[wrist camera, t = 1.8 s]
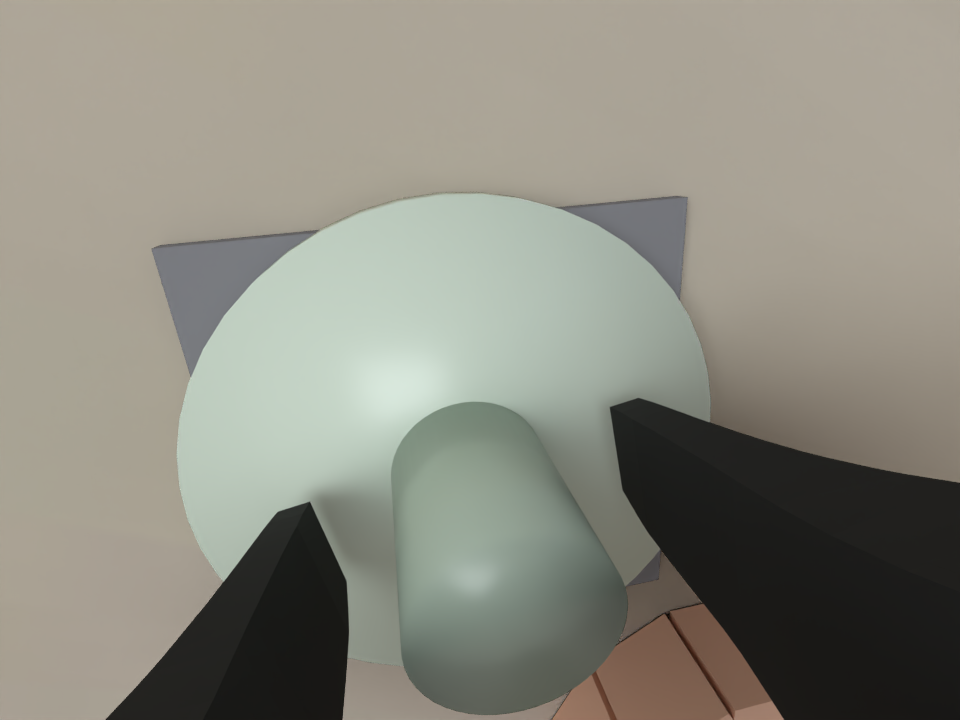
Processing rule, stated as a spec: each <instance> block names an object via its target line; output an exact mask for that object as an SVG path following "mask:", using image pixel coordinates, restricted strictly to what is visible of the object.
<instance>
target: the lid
mask: <svg viewBox="0 0 960 720" xmlns="http://www.w3.org/2000/svg"><path fill="white" fill-rule="evenodd" d="M636 398H641V399H644V400H648V401H651V402H654V403H657V404H660V405H662V406H665V407H668V408H671V409H674V410H676V411H679V412H682V413H685V414H687V415H690V416H693V417H696V418H698V419H701V420H704V421H707V422H710V409H711V399H710V388H709V378H708V371H707V367H706V363H705V359H704V355H703V351H702V347H701V344H700V341H699V339H698V336H697V334H696V332H695V329H694V327H693V324H692V322H691V320H690V317H689V315H688V314H687V312H686V310H685V309H684V307H683V306H682V304H681V302H680V301H679V299H678V297H677V296H676V294H675V292H674V291H673V289H672V288H671V287H670V286H669V285H668V284H667V282H666V281H665V280H664V279H663V278H662V276H661V275H660V274H659V273H658V272H657V271H656V269H655V268H654V267H653V266H652V265H651V264H650V263H649V262H648V261H646V260H645V259H644V258H643V257H642V256H641V255H640V254H638V253H637V252H636V251H635V250H634V249H633V248H631V247H630V246H629V245H628V244H627V243H625V242H624V241H622V240H620V239H619V238H617V237H616V236H614V235H613V234H611V233H609V232H608V231H606V230H605V229H603V228H601V227H600V226H598V225H597V224H594V223H592V222H590V221H587V220H585V219H583V218H581V217H578V216H576V215H574V214H571V213H569V212H567V211H564V210H562V209H558V208H554V207H551V206H547V205H543V204H540V203H536V202H532V201H529V200H525V199H521V198H517V197H512V196H504V195H496V194H488V193H480V192H455V193H433V194H427V195H421V196H414V197H408V198H402V199H397V200H394V201H390V202H387V203H384V204H380V205H377V206H374V207H370V208H367V209H364V210H361V211H358V212H356V213H354V214H352V215H350V216H347V217H345V218H343V219H341V220H339V221H337V222H334V223H332V224H330V225H328V226H326V227H324V228H322V229H321V230H319V231H317V232H316V233H314V234H313V235H311V236H310V237H308V238H307V239H305V240H304V241H302V242H300V243H299V244H297V245H296V246H294V247H293V248H291V249H290V250H289V251H287V252H286V253H285V254H284V255H283V256H282V257H280V258H279V259H278V260H277V261H276V262H275V263H274V264H272V265H271V266H270V267H269V268H268V269H267V270H265V271H264V272H263V273H262V274H261V275H260V276H259V277H258V278H257V279H256V280H255V281H254V282H253V283H252V284H251V285H250V286H249V287H248V288H247V290H246V291H245V292H244V293H243V294H242V295H241V297H240V298H239V299H238V300H237V301H236V302H235V304H234V305H233V306H232V307H231V308H230V309H229V310H228V312H227V313H226V314H225V315H224V317H223V318H222V320H221V321H220V323H219V325H218V326H217V328H216V329H215V331H214V333H213V334H212V336H211V337H210V339H209V341H208V342H207V344H206V345H205V347H204V349H203V351H202V353H201V355H200V358H199V360H198V362H197V365H196V367H195V369H194V372H193V374H192V376H191V379H190V381H189V383H188V387H187V391H186V395H185V399H184V403H183V407H182V411H181V415H180V419H179V431H178V444H177V464H178V476H179V487H180V491H181V495H182V499H183V503H184V507H185V511H186V515H187V519H188V521H189V523H190V526H191V528H192V530H193V533H194V535H195V537H196V539H197V542H198V544H199V546H200V548H201V550H202V552H203V553H204V555H205V556H206V558H207V559H208V561H209V562H210V564H211V566H212V567H213V569H214V570H215V572H216V573H217V575H218V576H219V577H220V578H221V579H222V580H223V582H224V581H225V579H226V578H227V577H228V575H229V574H230V573H231V572H232V570H233V569H234V568H235V566H236V565H237V564H238V562H239V561H240V560H241V558H242V557H243V556H244V554H245V553H246V552H247V550H248V549H249V548H250V546H251V545H252V544H253V542H254V541H255V540H256V538H257V537H258V536H259V534H260V533H261V532H262V530H263V529H264V528H265V527H266V525H267V524H268V523H269V521H270V520H271V519H272V518H273V517H274V515H275V514H276V513H277V512H278V511H281V510H284V509H288V508H291V507H294V506H297V505H300V504H304V503H307V502H310V503H311V505H312V507H313V509H314V511H315V513H316V516H317V518H318V520H319V522H320V524H321V526H322V529H323V531H324V533H325V535H326V537H327V539H328V542H329V544H330V546H331V548H332V550H333V553H334V555H335V557H336V559H337V561H338V563H339V566H340V568H341V570H342V572H343V574H344V576H345V579H346V581H347V594H348V613H349V644H348V657H347V658H352V659H356V660H361V661H365V662H370V663H378V664H387V665H396V666H404V668H405V671H406V673H407V675H408V677H409V679H410V680H411V681H412V683H413V684H414V685H415V687H416V688H417V689H418V690H419V691H420V692H421V693H422V694H423V695H424V696H426V697H427V698H429V699H430V700H432V701H433V702H435V703H437V704H439V705H441V706H443V707H446V708H449V709H452V710H455V711H458V712H463V713H468V714H478V715H498V714H507V713H513V712H518V711H523V710H527V709H530V708H533V707H537V706H539V705H542V704H545V703H547V702H550V701H552V700H554V699H556V698H558V697H560V696H562V695H564V694H565V693H567V692H569V691H570V690H572V689H574V688H575V687H577V686H578V685H579V684H581V683H582V682H583V681H585V680H586V679H587V678H588V677H589V676H591V675H592V674H593V673H594V672H595V671H596V670H597V669H598V668H599V667H600V666H601V665H602V664H603V663H604V662H605V660H606V659H607V658H608V656H609V655H610V654H611V652H612V651H613V649H614V648H615V646H616V644H617V642H618V641H619V638H620V636H621V634H622V632H623V629H624V625H625V622H626V618H627V610H628V600H627V593H626V588H625V586H627V585H628V584H629V583H630V582H631V581H632V580H633V579H634V578H635V577H636V576H637V575H638V574H639V573H640V572H641V571H642V570H643V569H644V568H645V566H646V565H647V564H648V563H649V562H650V561H651V560H652V559H653V558H654V557H655V555H656V554H657V553H658V551H659V550H660V548H659V547H658V545H657V544H656V543H655V541H654V540H653V539H652V537H651V536H650V535H649V533H648V532H647V530H646V529H645V527H644V526H643V524H642V522H641V521H640V519H639V517H638V516H637V514H636V513H635V511H634V509H633V507H632V506H631V504H630V502H629V500H628V499H627V497H626V495H625V494H624V492H623V490H622V484H621V478H620V471H619V465H618V458H617V452H616V445H615V439H614V432H613V426H612V419H611V413H610V407H611V406H614V405H617V404H621V403H624V402H627V401H630V400H633V399H636Z"/></svg>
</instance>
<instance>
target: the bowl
mask: <svg viewBox="0 0 960 720" xmlns="http://www.w3.org/2000/svg"><path fill="white" fill-rule="evenodd" d="M552 720H784V719H783V717H782V716H781V714H780V713H779V711H778V709H777V708H776V706H775V705H774V703H773V702H772V700H771V699H770V697H769V696H768V694H767V693H766V691H765V689H764V688H763V686H762V685H761V683H760V682H759V680H758V679H757V677H756V676H755V674H754V673H753V671H752V669H751V668H750V666H749V665H748V663H747V662H746V660H745V659H744V657H743V656H742V654H741V653H740V651H739V650H738V649H737V647H736V646H735V644H734V643H733V642H732V640H731V639H730V638H729V636H728V635H727V633H726V632H725V631H724V629H723V628H722V627H721V625H720V624H719V623H718V622H717V620H716V619H715V618H714V617H713V615H712V614H711V613H710V612H709V610H708V609H707V608H706V606H705V605H704V604H700V605H696V606H691V607H687V608H683V609H678V610H674V611H670V617H669V619H668V618H667V616H666V615H665V614H663V615H662V616H660V617H659V618H657V619H656V620H654V621H653V622H651V623H650V624H648V625H647V626H645V627H644V628H642V629H641V630H639V631H638V632H636V633H635V634H633V635H632V636H630V637H629V638H627V639H626V640H624V641H623V642H621V643H620V644H618V645H617V646H615V648H614V649H613V651H612V652H611V654H610V655H609V656H608V658H607V659H606V660H605V662H604V663H603V664H602V665H601V666H600V667H599V668H598V669H597V670H596V671H595V672H594V673H593V674H592V675H591V676H589V677H588V678H587V679H586V680H585V681H583V682H582V683H581V684H579V685H578V686H577V687H575V688H574V689H572V690H571V692H570V693H569V695H568V696H567V698H566V699H565V701H564V702H563V704H562V705H561V707H560V708H559V710H558V711H557V713H556V714H555V716H554V717H553V719H552Z"/></svg>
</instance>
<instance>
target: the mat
mask: <svg viewBox="0 0 960 720" xmlns="http://www.w3.org/2000/svg"><path fill="white" fill-rule="evenodd" d="M687 198H688V197H680V196H672V197H662V198H651V199H641V200H630V201H620V202H609V203H599V204H588V205H578V206H567V207H557V208H558V209H562V210H564V211H567V212H569V213H571V214H574V215H576V216H578V217H581V218H583V219H585V220H587V221H590V222H592V223H594V224H597V225H598V226H600V227H601V228H603V229H605V230H606V231H608V232H609V233H611V234H613V235H614V236H616V237H617V238H619V239H620V240H622V241H624V242H625V243H627V244H628V245H629V246H630V247H631V248H633V249H634V250H635V251H636V252H637V253H638V254H640V255H641V256H642V257H643V258H644V259H645V260H646V261H648V262H649V263H650V264H651V265H652V266H653V267H654V268H655V269H656V271H657V272H658V273H659V274H660V275H661V276H662V278H663V279H664V280H665V281H666V282H667V284H668V285H669V286H670V287H671V288H672V289H673V291H674V292H675V294H676V296H677V297H678V299H679V301H680V290H681V277H682V264H683V251H684V237H685V224H686V211H687ZM317 231H319V230H315V231H305V232H294V233H284V234H273V235H263V236H252V237H242V238H231V239H221V240H210V241H200V242H189V243H179V244H168V245H160V246H157V247H155V248H152V252H153V256H154V259H155V262H156V265H157V269H158V272H159V275H160V278H161V282H162V285H163V288H164V291H165V295H166V298H167V301H168V304H169V308H170V311H171V314H172V317H173V321H174V324H175V327H176V330H177V334H178V337H179V340H180V344H181V347H182V350H183V353H184V357H185V360H186V363H187V366H188V370H189V373H190V376H192V374H193V372H194V369H195V367H196V365H197V362H198V360H199V358H200V355H201V353H202V351H203V349H204V347H205V345H206V344H207V342H208V341H209V339H210V337H211V336H212V334H213V333H214V331H215V329H216V328H217V326H218V325H219V323H220V321H221V320H222V318H223V317H224V315H225V314H226V313H227V312H228V310H229V309H230V308H231V307H232V306H233V305H234V304H235V302H236V301H237V300H238V299H239V298H240V297H241V295H242V294H243V293H244V292H245V291H246V290H247V288H248V287H249V286H250V285H251V284H252V283H253V282H254V281H255V280H256V279H257V278H258V277H259V276H260V275H261V274H262V273H263V272H264V271H265V270H267V269H268V268H269V267H270V266H271V265H272V264H274V263H275V262H276V261H277V260H278V259H279V258H280V257H282V256H283V255H284V254H285V253H286V252H287V251H289V250H290V249H291V248H293V247H294V246H296V245H297V244H299V243H300V242H302V241H304V240H305V239H307V238H308V237H310V236H311V235H313V234H314V233H316V232H317ZM660 553H661V549H660V550H659V551H658V553H657V554H656V555H655V557H654V558H653V559H652V560H651V561H650V562H649V563H648V564H647V565H646V566H645V568H644V569H643V570H642V571H641V572H640V573H639V574H638V575H637V576H636V577H635V578H634V579H633V580H632V581H631V582H630V583H629V584H628V585H627V586H630V585H635V584H640V583H644V582H649V581H653V580H658V579H659V566H660ZM625 587H626V586H625Z"/></svg>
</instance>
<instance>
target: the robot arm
mask: <svg viewBox="0 0 960 720" xmlns="http://www.w3.org/2000/svg"><path fill="white" fill-rule="evenodd" d="M610 413H611V419H612V426H613V432H614V439H615V445H616V452H617V458H618V465H619V471H620V478H621V484H622V490H623V492H624V494H625V495H626V497H627V499H628V500H629V502H630V504H631V506H632V507H633V509H634V511H635V513H636V514H637V516H638V517H639V519H640V521H641V522H642V524H643V526H644V527H645V529H646V530H647V532H648V533H649V535H650V536H651V537H652V539H653V540H654V541H655V543H656V544H657V545H658V547H659V548H660V549H661V550H662V552H663V553H664V554H665V556H666V557H667V558H668V559H669V561H670V562H671V563H672V565H673V566H674V567H675V568H676V570H677V571H678V572H679V573H680V575H681V576H682V577H683V579H684V580H685V581H686V582H687V584H688V585H689V586H690V587H691V589H692V590H693V591H694V592H695V594H696V595H697V596H698V598H699V599H700V600H701V601H702V603H703V604H704V605H705V606H706V608H707V609H708V610H709V612H710V613H711V614H712V615H713V617H714V618H715V619H716V620H717V622H718V623H719V624H720V625H721V627H722V628H723V629H724V631H725V632H726V633H727V635H728V636H729V638H730V639H731V640H732V642H733V643H734V644H735V646H736V647H737V649H738V650H739V651H740V653H741V654H742V656H743V657H744V659H745V660H746V662H747V663H748V665H749V666H750V668H751V669H752V671H753V673H754V674H755V676H756V677H757V679H758V680H759V682H760V683H761V685H762V686H763V688H764V689H765V691H766V693H767V694H768V696H769V697H770V699H771V700H772V702H773V703H774V705H775V706H776V708H777V709H778V711H779V713H780V714H781V716H782V717H783V719H784V720H960V483H957V482H951V481H945V480H938V479H932V478H926V477H920V476H913V475H907V474H902V473H896V472H891V471H886V470H880V469H875V468H870V467H866V466H861V465H857V464H852V463H848V462H844V461H839V460H835V459H830V458H826V457H822V456H818V455H814V454H810V453H806V452H802V451H798V450H795V449H792V448H788V447H785V446H781V445H778V444H774V443H771V442H767V441H764V440H761V439H758V438H754V437H751V436H748V435H745V434H742V433H739V432H736V431H733V430H730V429H727V428H724V427H721V426H718V425H715V424H712V423H710V422H707V421H704V420H701V419H698V418H696V417H693V416H690V415H687V414H685V413H682V412H679V411H676V410H674V409H671V408H668V407H665V406H662V405H660V404H657V403H654V402H651V401H648V400H644V399H641V398H636V399H633V400H630V401H627V402H624V403H621V404H617V405H614V406H611V407H610ZM348 644H349V613H348V594H347V581H346V579H345V576H344V574H343V572H342V570H341V568H340V566H339V563H338V561H337V559H336V557H335V555H334V553H333V550H332V548H331V546H330V544H329V542H328V539H327V537H326V535H325V533H324V531H323V529H322V526H321V524H320V522H319V520H318V518H317V516H316V513H315V511H314V509H313V507H312V505H311V503H310V502H307V503H304V504H300V505H297V506H294V507H291V508H288V509H284V510H281V511H278V512H277V513H276V514H275V515H274V517H273V518H272V519H271V520H270V521H269V523H268V524H267V525H266V527H265V528H264V529H263V530H262V532H261V533H260V534H259V536H258V537H257V538H256V540H255V541H254V542H253V544H252V545H251V546H250V548H249V549H248V550H247V552H246V553H245V554H244V556H243V557H242V558H241V560H240V561H239V562H238V564H237V565H236V566H235V568H234V569H233V570H232V572H231V573H230V574H229V575H228V577H227V578H226V579H225V581H224V582H223V583H222V585H221V586H220V587H219V589H218V590H217V591H216V593H215V594H214V595H213V596H212V598H211V599H210V600H209V602H208V603H207V604H206V605H205V607H204V608H203V609H202V610H201V611H200V613H199V614H198V615H197V616H196V617H195V619H194V620H193V621H192V622H191V624H190V625H189V626H188V627H187V628H186V630H185V631H184V632H183V633H182V634H181V636H180V637H179V638H178V639H177V641H176V642H175V643H174V644H173V645H172V647H171V648H170V649H169V650H168V651H167V653H166V654H165V655H164V656H163V658H162V659H161V660H160V661H159V662H158V663H157V664H156V666H155V667H154V668H153V669H152V670H151V671H150V672H149V673H148V675H147V676H146V677H145V678H144V679H143V680H142V681H141V682H140V683H139V685H138V686H137V687H136V688H135V689H134V690H133V691H132V692H131V693H130V694H129V695H128V696H127V697H126V699H125V700H124V701H123V702H122V703H121V704H120V705H119V706H118V707H117V708H116V709H115V710H114V711H113V712H112V713H111V714H110V715H109V717H108V718H107V719H106V720H342V718H343V706H344V694H345V683H346V670H347V657H348Z"/></svg>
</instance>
